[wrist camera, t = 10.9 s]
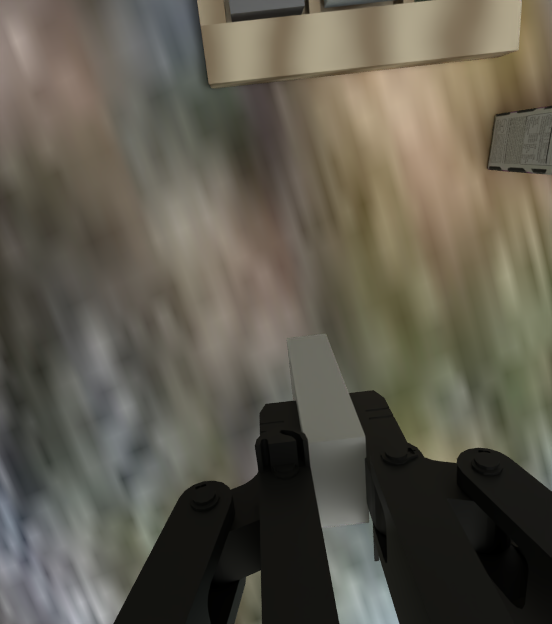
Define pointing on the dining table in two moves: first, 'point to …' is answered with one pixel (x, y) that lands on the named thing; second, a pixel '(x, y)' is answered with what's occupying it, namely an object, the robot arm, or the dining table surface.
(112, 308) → the dining table surface
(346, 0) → the key slate
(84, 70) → the dining table surface
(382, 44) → the keypad
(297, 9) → the key charcoal
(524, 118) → the candy bar box
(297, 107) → the dining table surface
